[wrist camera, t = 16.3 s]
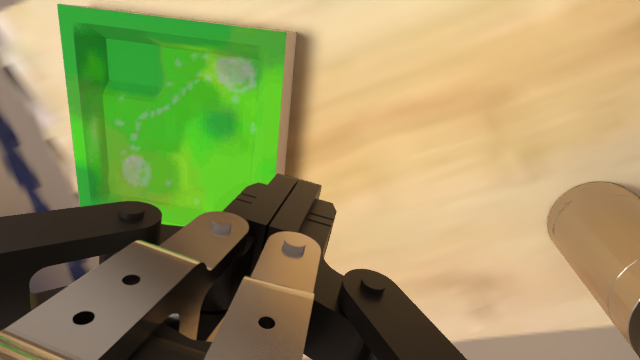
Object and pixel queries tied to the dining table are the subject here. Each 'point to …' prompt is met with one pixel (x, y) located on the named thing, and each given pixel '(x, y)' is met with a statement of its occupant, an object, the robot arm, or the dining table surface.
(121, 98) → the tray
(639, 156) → the dining table surface
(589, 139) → the dining table surface
